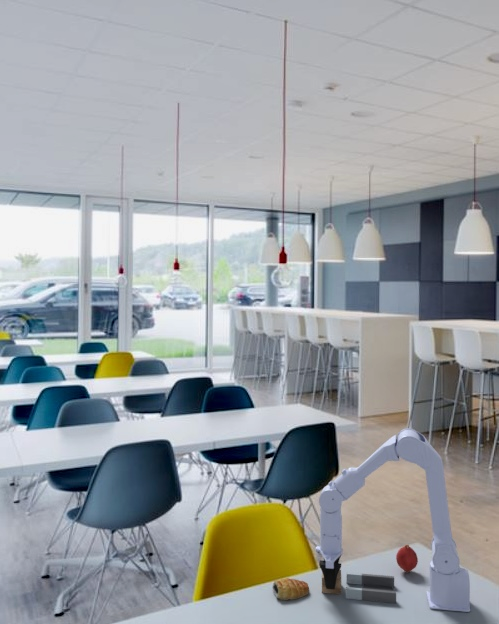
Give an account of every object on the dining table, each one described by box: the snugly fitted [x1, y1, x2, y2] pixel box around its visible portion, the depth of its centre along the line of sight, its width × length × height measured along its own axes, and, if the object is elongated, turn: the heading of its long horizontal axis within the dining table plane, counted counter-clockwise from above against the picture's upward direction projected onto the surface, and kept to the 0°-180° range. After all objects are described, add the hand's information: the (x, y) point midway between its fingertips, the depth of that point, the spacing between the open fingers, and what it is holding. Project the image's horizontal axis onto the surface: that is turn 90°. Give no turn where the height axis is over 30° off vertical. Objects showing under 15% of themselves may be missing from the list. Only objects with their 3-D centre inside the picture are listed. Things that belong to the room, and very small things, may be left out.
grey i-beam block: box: [345, 571, 397, 604], centre depth 151 cm, size 12×9×2 cm
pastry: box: [272, 577, 310, 601], centre depth 151 cm, size 9×7×4 cm
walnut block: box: [321, 569, 342, 595], centre depth 153 cm, size 5×5×4 cm
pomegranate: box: [395, 543, 419, 573], centre depth 162 cm, size 6×6×8 cm
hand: (330, 583), depth 153 cm, fingers closed on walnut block, 5 cm apart
